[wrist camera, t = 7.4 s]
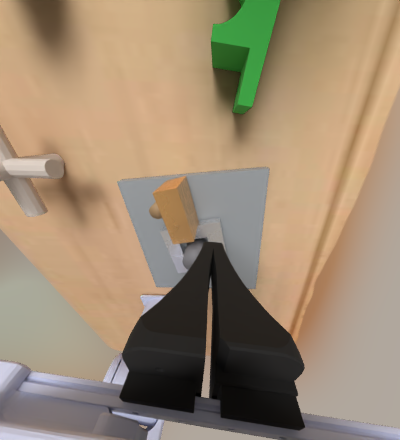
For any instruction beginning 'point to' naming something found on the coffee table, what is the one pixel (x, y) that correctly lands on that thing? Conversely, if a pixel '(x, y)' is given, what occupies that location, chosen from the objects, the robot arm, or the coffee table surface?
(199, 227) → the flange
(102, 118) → the coffee table surface
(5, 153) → the pipe connector
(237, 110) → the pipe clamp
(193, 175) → the board
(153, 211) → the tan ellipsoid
